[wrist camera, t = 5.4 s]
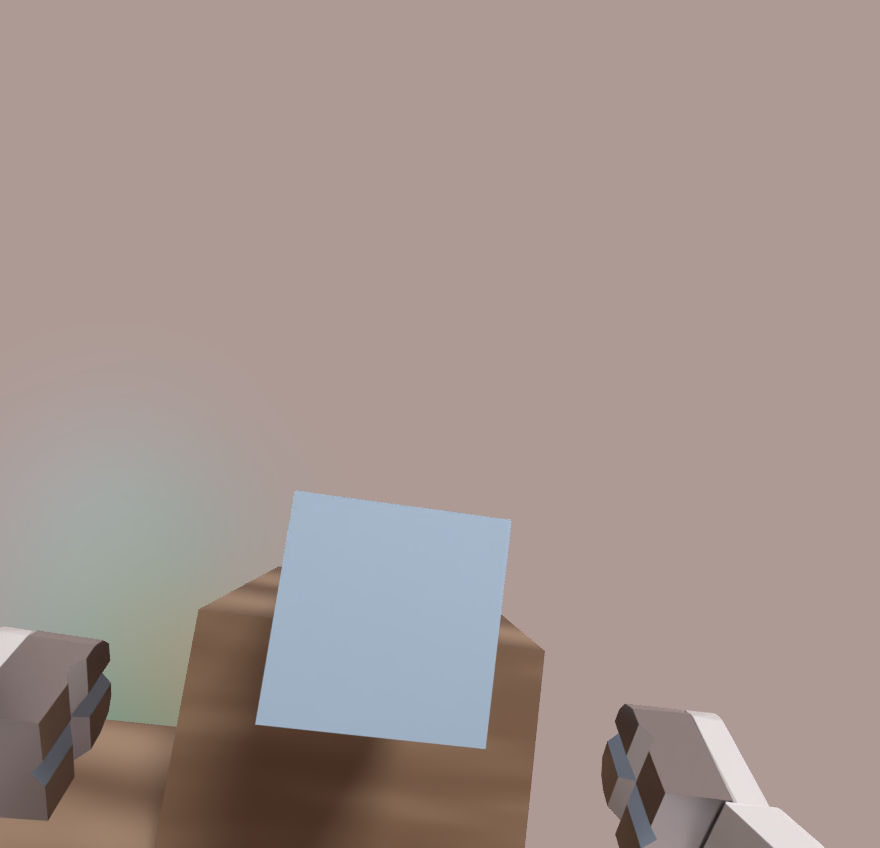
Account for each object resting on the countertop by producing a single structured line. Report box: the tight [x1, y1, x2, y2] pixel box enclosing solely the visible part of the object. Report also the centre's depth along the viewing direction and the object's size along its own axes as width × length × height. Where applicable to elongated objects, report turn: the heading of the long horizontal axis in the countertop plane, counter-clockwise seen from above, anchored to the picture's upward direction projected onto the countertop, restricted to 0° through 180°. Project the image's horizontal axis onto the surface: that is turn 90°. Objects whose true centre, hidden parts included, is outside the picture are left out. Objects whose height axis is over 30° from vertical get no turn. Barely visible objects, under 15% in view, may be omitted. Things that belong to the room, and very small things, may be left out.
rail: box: [255, 491, 512, 749], centre depth 21 cm, size 24×4×4 cm, turn 6°
